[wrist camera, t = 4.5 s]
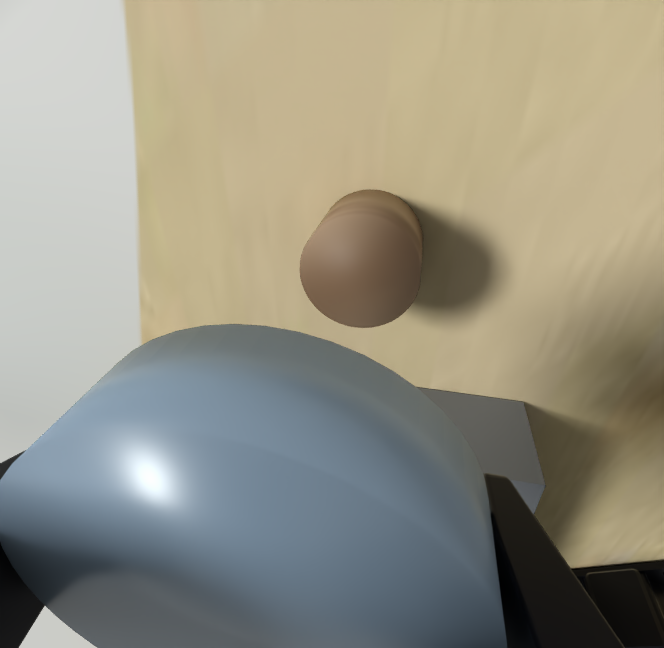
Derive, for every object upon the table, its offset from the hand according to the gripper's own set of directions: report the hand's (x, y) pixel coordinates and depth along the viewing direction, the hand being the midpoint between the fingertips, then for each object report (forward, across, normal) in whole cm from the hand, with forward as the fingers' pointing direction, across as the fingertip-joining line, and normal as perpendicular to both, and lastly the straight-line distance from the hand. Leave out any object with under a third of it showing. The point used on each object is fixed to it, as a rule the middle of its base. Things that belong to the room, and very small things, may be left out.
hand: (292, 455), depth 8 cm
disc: (-1, 0, 0) cm, 1 cm away
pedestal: (+12, 0, 0) cm, 12 cm away
